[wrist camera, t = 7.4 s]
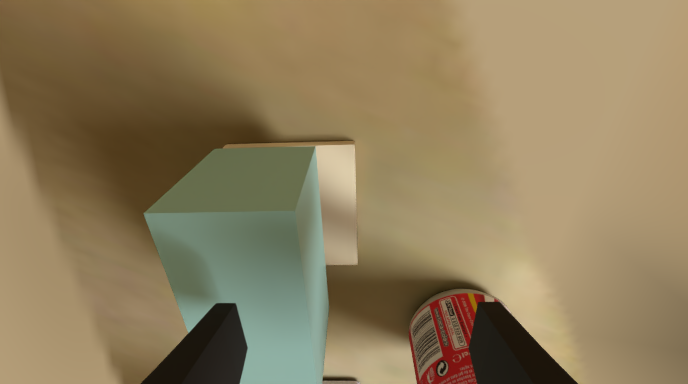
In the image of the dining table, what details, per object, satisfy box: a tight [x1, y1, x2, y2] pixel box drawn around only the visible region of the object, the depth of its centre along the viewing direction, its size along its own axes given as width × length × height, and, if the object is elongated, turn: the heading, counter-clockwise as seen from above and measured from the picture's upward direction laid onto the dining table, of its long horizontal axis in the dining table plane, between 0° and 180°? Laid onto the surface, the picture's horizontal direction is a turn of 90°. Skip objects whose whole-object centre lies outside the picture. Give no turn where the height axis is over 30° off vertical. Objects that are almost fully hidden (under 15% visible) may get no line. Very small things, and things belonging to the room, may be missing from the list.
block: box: [143, 146, 329, 384], centre depth 15 cm, size 10×5×6 cm, turn 2°
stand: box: [223, 141, 358, 265], centre depth 18 cm, size 8×7×3 cm
